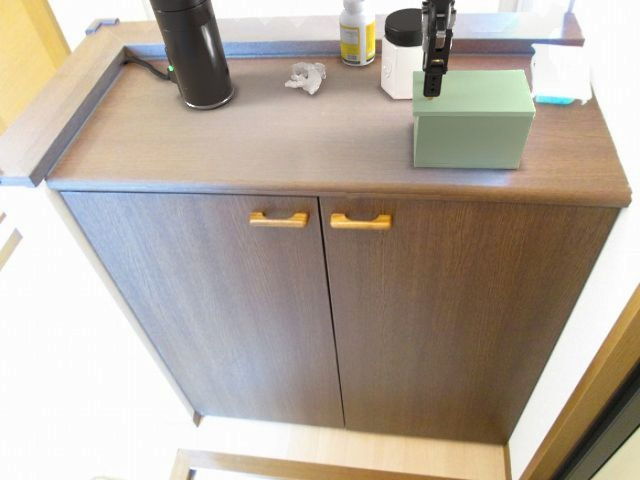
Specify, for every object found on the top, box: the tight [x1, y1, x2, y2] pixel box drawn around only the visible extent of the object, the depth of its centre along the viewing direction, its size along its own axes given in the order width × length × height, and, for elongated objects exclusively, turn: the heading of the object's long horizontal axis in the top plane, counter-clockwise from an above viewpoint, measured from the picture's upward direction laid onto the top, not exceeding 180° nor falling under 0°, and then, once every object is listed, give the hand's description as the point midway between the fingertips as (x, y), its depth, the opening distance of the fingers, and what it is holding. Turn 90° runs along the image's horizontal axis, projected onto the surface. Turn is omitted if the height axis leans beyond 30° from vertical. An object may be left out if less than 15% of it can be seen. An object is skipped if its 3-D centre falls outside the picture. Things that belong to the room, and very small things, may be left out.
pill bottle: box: [338, 0, 376, 67], centre depth 85 cm, size 6×6×12 cm
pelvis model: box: [284, 61, 327, 96], centre depth 84 cm, size 8×4×7 cm
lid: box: [412, 60, 537, 118], centre depth 62 cm, size 15×10×5 cm, turn 83°
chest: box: [413, 116, 535, 170], centre depth 67 cm, size 15×10×9 cm
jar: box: [380, 7, 424, 100], centre depth 77 cm, size 9×8×12 cm
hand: (430, 82), depth 63 cm, fingers open, 5 cm apart
